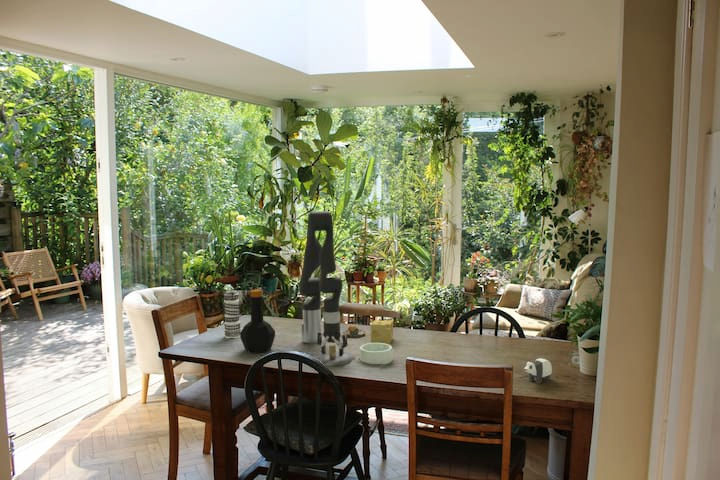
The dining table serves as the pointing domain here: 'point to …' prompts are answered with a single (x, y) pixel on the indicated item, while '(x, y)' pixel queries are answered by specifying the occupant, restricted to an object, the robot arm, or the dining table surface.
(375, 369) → the dining table surface
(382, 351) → the bowl
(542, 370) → the giant panda
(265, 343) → the bottle
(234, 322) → the decorative candle
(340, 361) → the lid
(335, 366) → the mat
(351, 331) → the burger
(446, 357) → the dining table surface
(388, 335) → the cheese
